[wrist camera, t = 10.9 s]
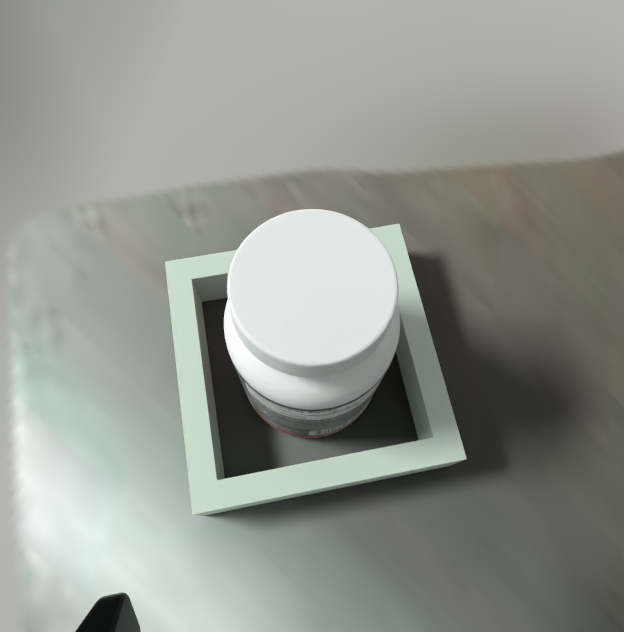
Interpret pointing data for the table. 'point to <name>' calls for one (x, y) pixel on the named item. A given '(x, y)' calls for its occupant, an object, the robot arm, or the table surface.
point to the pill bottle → (311, 320)
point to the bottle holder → (322, 475)
